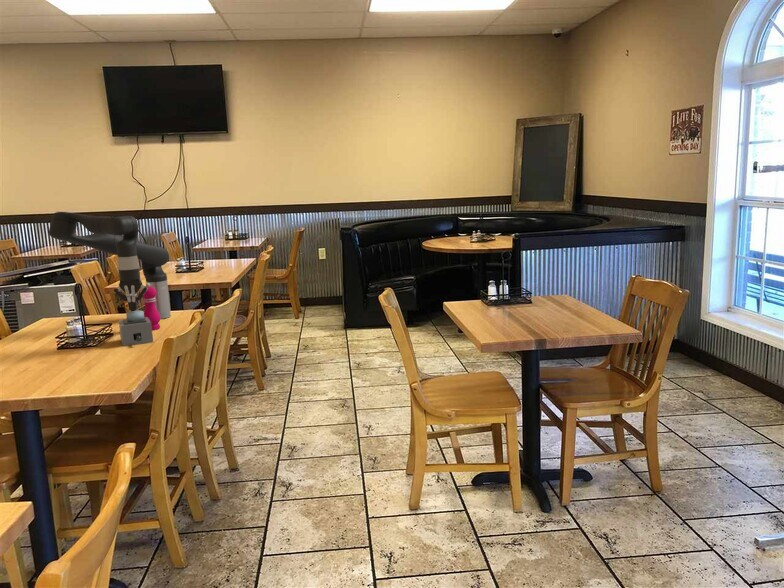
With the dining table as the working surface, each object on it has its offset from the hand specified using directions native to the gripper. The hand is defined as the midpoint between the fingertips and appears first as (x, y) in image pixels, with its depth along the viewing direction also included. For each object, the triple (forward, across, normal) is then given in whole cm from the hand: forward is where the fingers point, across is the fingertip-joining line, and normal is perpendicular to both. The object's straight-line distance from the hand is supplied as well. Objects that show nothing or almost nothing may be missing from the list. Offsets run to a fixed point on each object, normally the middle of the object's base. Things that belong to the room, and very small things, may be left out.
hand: (133, 311), depth 249 cm
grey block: (+12, 0, 0) cm, 12 cm away
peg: (+12, 0, 0) cm, 12 cm away
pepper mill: (+12, +1, +20) cm, 23 cm away
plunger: (+10, +2, -6) cm, 12 cm away
